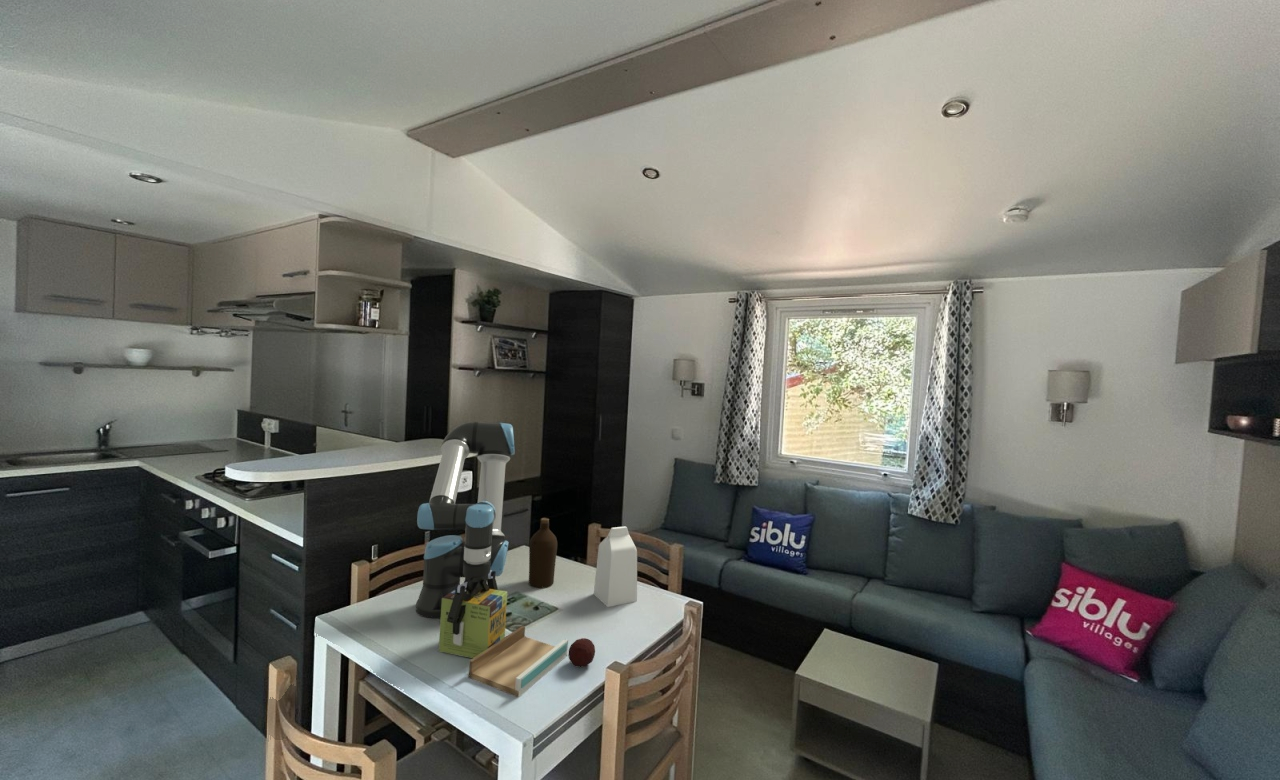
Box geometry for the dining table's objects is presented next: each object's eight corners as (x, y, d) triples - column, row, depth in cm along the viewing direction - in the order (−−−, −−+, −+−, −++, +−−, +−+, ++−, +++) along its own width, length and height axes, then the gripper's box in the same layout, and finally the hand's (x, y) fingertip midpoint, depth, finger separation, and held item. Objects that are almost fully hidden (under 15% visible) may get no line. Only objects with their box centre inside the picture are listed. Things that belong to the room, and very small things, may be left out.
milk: (607, 606, 178) (612, 533, 177) (593, 594, 188) (597, 524, 187) (636, 601, 184) (641, 530, 183) (621, 589, 194) (626, 521, 193)
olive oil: (551, 590, 189) (555, 523, 189) (523, 587, 189) (527, 521, 189) (557, 579, 200) (561, 516, 199) (531, 576, 200) (534, 514, 200)
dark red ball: (597, 660, 144) (598, 635, 144) (589, 675, 136) (590, 649, 136) (572, 655, 145) (574, 631, 145) (563, 670, 138) (565, 644, 138)
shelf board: (468, 677, 132) (468, 671, 132) (521, 640, 152) (521, 635, 152) (518, 697, 125) (518, 691, 125) (566, 655, 145) (567, 650, 145)
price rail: (514, 695, 125) (515, 677, 125) (563, 654, 145) (564, 639, 145) (519, 697, 125) (520, 679, 125) (567, 655, 145) (568, 640, 145)
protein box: (487, 661, 139) (490, 606, 139) (437, 651, 142) (440, 597, 142) (505, 642, 149) (508, 591, 149) (458, 633, 153) (461, 583, 152)
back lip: (468, 677, 132) (469, 660, 132) (521, 640, 152) (522, 625, 152) (471, 678, 131) (472, 661, 131) (524, 641, 151) (525, 626, 151)
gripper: (456, 576, 133) (452, 658, 133) (514, 550, 154) (510, 620, 155) (435, 570, 136) (431, 650, 136) (494, 545, 157) (491, 614, 158)
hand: (473, 634), depth 146 cm, fingers closed on protein box, 11 cm apart
